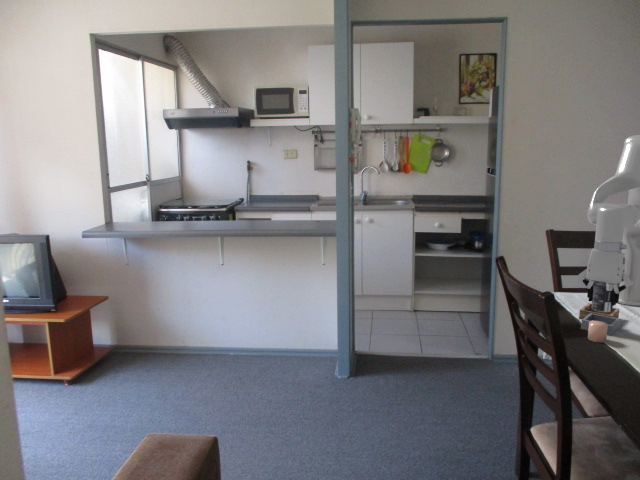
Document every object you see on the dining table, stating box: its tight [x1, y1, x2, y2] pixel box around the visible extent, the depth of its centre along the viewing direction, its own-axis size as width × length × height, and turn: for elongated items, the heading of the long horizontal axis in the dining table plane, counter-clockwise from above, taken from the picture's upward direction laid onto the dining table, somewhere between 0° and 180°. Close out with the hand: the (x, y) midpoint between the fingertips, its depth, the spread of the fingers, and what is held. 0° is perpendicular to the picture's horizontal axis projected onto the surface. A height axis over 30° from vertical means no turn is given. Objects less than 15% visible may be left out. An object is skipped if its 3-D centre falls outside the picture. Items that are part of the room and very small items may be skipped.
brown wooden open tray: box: [578, 302, 620, 320], centre depth 181 cm, size 10×10×3 cm
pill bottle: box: [591, 281, 614, 312], centre depth 170 cm, size 6×6×11 cm
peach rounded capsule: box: [587, 321, 608, 343], centre depth 163 cm, size 5×5×5 cm
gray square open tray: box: [580, 313, 621, 336], centre depth 172 cm, size 9×9×3 cm
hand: (602, 301), depth 170 cm, fingers closed on pill bottle, 6 cm apart
